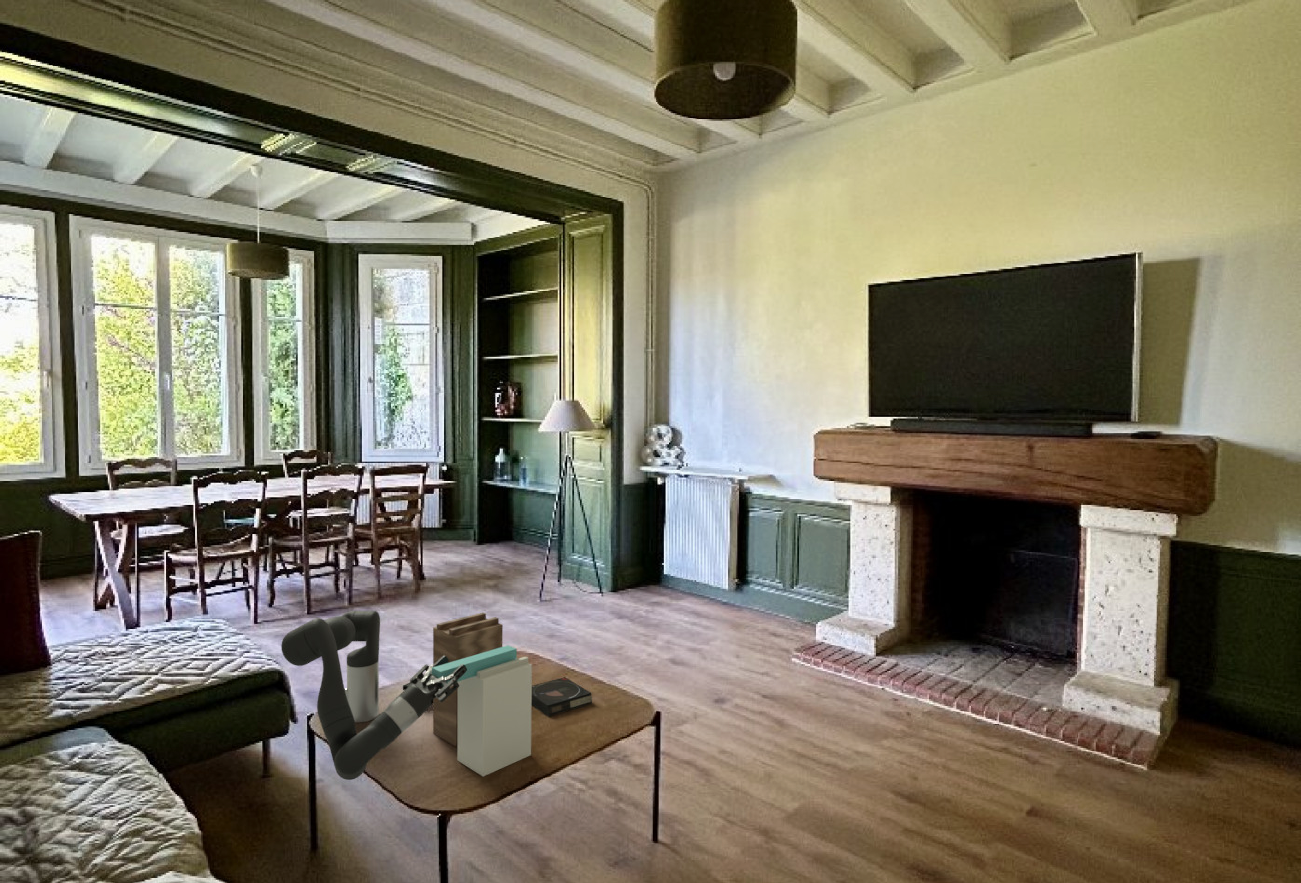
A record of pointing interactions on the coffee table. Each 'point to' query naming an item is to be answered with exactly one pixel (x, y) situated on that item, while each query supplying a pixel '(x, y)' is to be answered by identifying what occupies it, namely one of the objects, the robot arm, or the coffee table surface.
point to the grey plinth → (495, 716)
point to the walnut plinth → (457, 644)
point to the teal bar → (477, 662)
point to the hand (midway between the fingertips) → (455, 662)
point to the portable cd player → (559, 696)
